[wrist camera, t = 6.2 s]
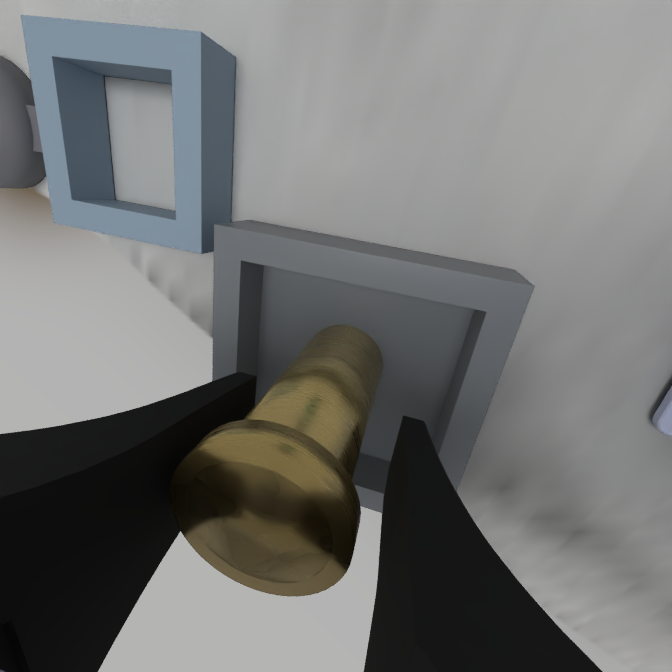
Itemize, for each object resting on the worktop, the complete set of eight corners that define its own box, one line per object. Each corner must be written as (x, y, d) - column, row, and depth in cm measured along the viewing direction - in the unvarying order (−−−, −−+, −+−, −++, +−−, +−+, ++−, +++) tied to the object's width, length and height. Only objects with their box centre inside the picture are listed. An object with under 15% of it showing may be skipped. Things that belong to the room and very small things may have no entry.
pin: (400, 324, 13) (365, 475, 6) (385, 413, 15) (342, 619, 8) (299, 307, 14) (160, 422, 7) (294, 393, 16) (176, 563, 8)
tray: (515, 269, 12) (534, 286, 10) (439, 484, 16) (441, 531, 14) (249, 220, 14) (214, 224, 12) (239, 425, 18) (211, 458, 16)
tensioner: (235, 56, 12) (190, 24, 10) (229, 246, 14) (192, 256, 12) (-65, 25, 14) (-159, -8, 12) (-25, 195, 17) (-96, 194, 14)
